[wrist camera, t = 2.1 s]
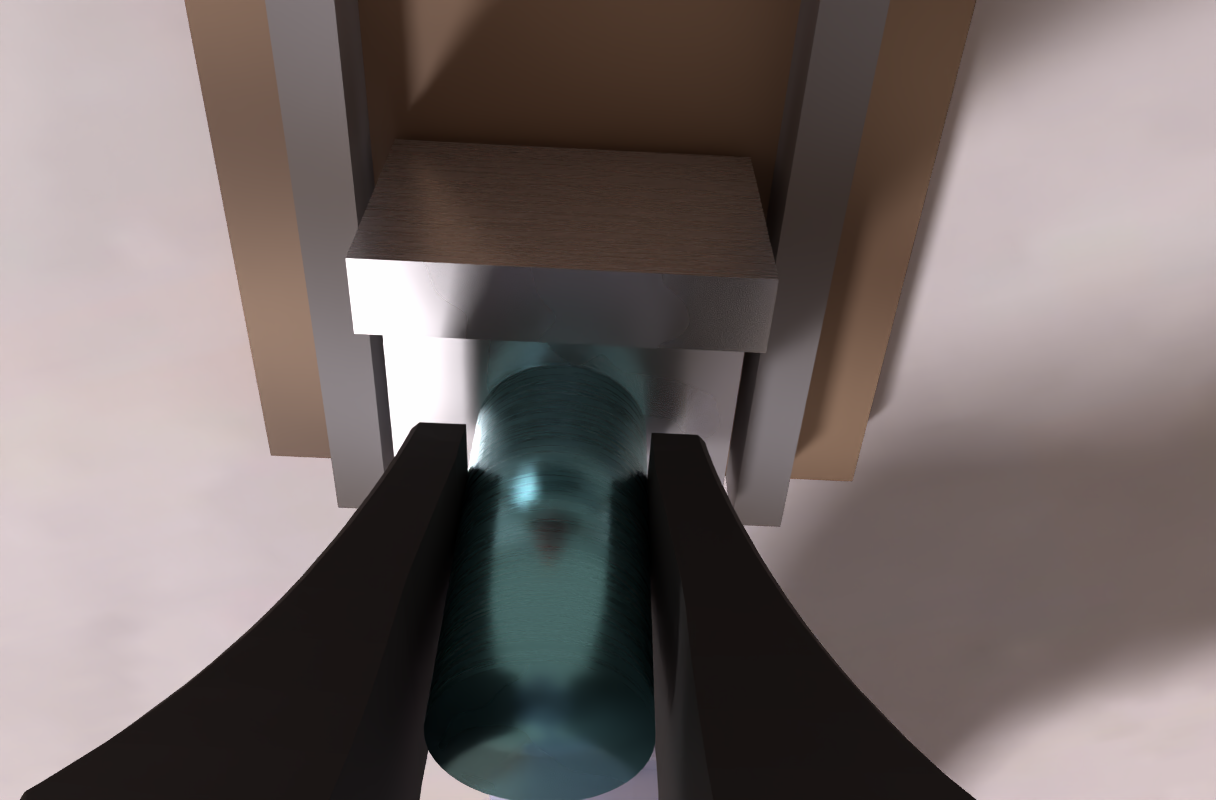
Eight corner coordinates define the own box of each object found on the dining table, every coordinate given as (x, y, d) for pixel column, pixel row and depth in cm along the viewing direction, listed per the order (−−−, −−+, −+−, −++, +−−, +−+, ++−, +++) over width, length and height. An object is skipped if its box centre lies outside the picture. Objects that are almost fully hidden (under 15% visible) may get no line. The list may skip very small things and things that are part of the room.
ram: (703, 486, 18) (739, 872, 12) (421, 473, 18) (333, 857, 12) (750, 157, 14) (830, 501, 9) (395, 138, 14) (254, 474, 9)
